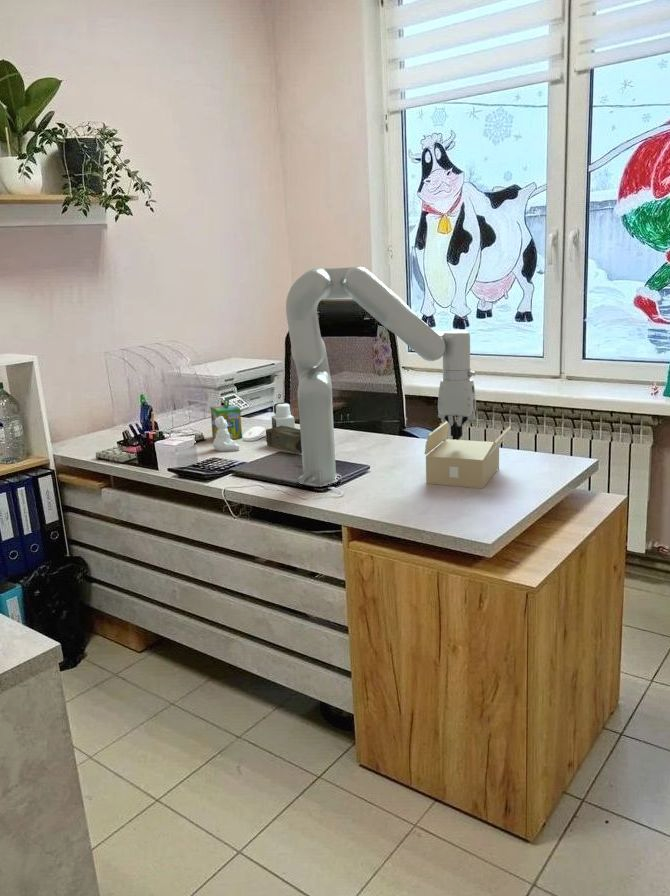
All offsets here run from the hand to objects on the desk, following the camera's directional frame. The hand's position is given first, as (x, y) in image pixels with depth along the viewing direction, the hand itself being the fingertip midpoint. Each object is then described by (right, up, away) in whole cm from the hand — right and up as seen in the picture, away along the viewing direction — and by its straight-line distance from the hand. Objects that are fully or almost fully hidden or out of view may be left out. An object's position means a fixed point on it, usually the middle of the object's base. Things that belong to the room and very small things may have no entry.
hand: (456, 438), depth 207 cm
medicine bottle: (-54, +2, +62) cm, 82 cm away
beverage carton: (-50, -3, +44) cm, 66 cm away
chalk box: (-75, +1, +62) cm, 97 cm away
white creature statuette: (-73, -3, +45) cm, 86 cm away
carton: (+2, -11, +2) cm, 11 cm away
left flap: (-5, 0, +2) cm, 5 cm away
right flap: (+10, -1, -5) cm, 12 cm away
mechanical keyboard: (-100, -4, +51) cm, 112 cm away
